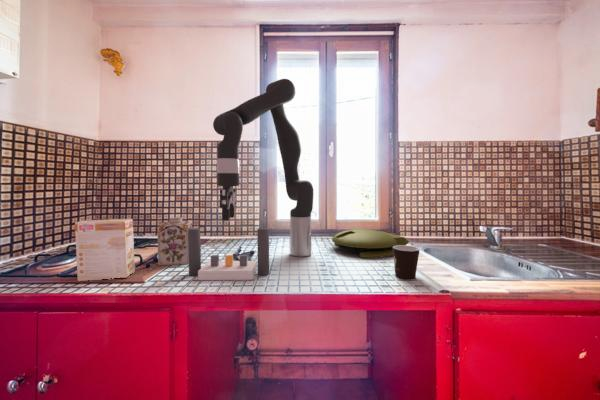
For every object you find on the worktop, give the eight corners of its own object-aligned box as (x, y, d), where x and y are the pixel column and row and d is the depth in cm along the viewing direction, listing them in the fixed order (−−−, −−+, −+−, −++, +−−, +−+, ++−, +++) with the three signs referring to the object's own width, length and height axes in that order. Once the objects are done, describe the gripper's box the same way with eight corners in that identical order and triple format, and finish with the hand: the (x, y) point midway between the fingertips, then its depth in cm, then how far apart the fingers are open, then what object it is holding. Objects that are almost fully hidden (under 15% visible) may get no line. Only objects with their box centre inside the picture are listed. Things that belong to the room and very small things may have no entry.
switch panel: (257, 268, 106) (256, 251, 106) (252, 279, 94) (252, 260, 94) (208, 268, 106) (208, 251, 105) (198, 280, 94) (197, 260, 93)
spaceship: (380, 241, 158) (380, 224, 157) (419, 254, 129) (420, 233, 128) (322, 245, 147) (322, 227, 146) (350, 261, 118) (351, 238, 117)
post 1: (202, 272, 102) (201, 228, 101) (199, 276, 98) (198, 230, 97) (191, 272, 102) (190, 228, 101) (187, 276, 98) (186, 230, 97)
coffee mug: (416, 282, 92) (417, 252, 91) (389, 277, 96) (389, 248, 96) (422, 273, 101) (422, 245, 101) (397, 269, 106) (398, 242, 105)
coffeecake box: (135, 272, 101) (133, 218, 100) (126, 279, 94) (124, 221, 93) (89, 274, 99) (86, 219, 98) (76, 281, 92) (73, 222, 91)
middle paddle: (233, 264, 101) (233, 254, 100) (232, 266, 99) (232, 255, 99) (226, 264, 100) (226, 254, 100) (225, 266, 99) (225, 255, 99)
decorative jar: (157, 266, 109) (156, 219, 108) (165, 258, 121) (164, 216, 120) (190, 264, 112) (189, 219, 111) (194, 256, 123) (193, 215, 122)
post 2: (269, 271, 102) (269, 228, 101) (268, 275, 98) (268, 230, 97) (258, 272, 102) (258, 228, 101) (257, 275, 98) (256, 230, 97)
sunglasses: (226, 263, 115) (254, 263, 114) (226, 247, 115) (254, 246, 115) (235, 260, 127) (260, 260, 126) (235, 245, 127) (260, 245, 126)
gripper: (235, 171, 91) (235, 221, 92) (242, 173, 105) (242, 216, 106) (211, 171, 91) (212, 221, 92) (222, 173, 105) (222, 216, 106)
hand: (228, 218), depth 99 cm, fingers open, 8 cm apart
